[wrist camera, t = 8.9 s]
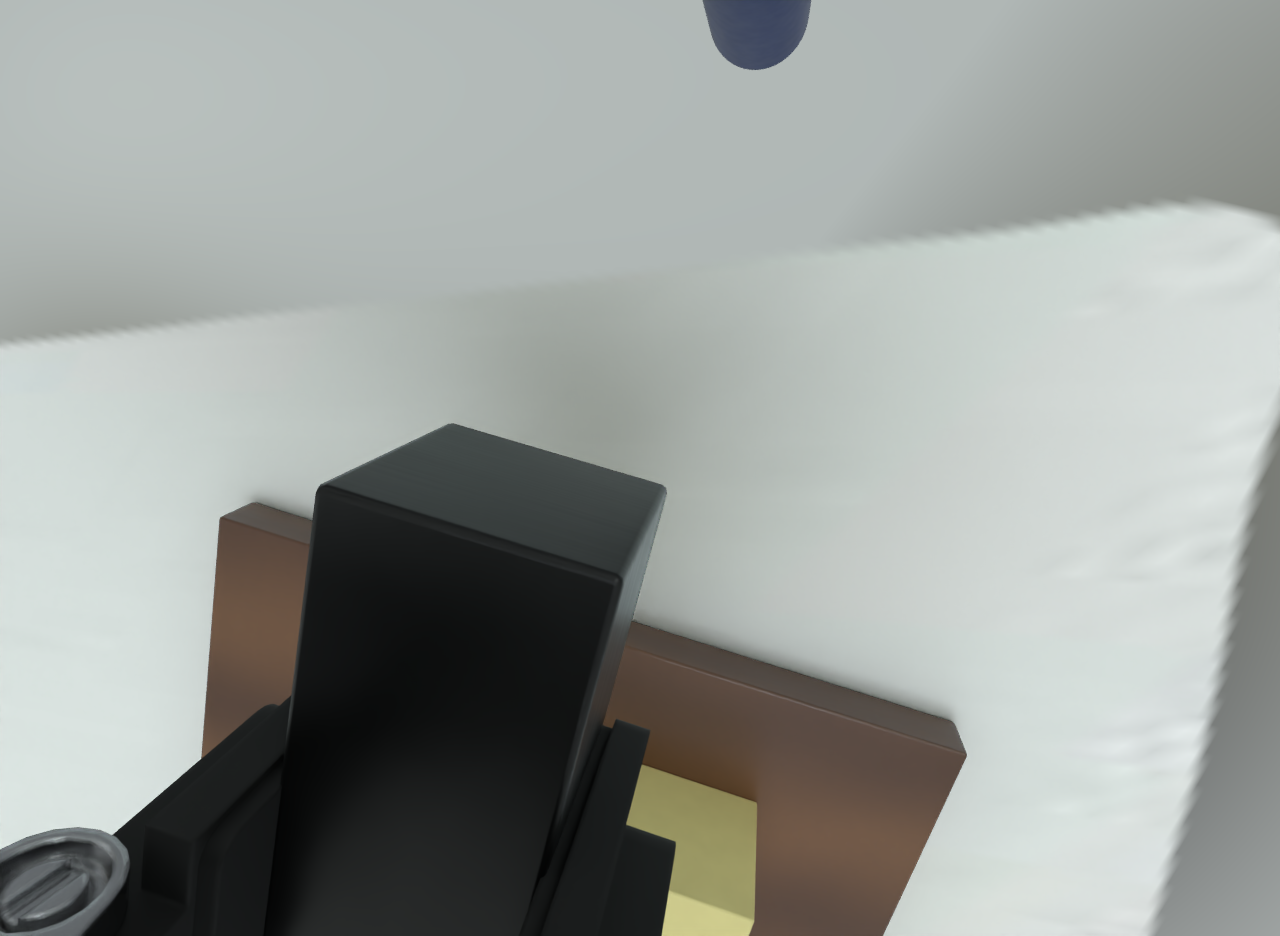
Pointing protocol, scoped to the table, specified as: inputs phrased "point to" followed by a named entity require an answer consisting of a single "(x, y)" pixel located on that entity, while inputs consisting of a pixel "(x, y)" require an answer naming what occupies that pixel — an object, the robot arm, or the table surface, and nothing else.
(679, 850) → the butter block
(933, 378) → the table surface
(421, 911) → the knife
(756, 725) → the board
